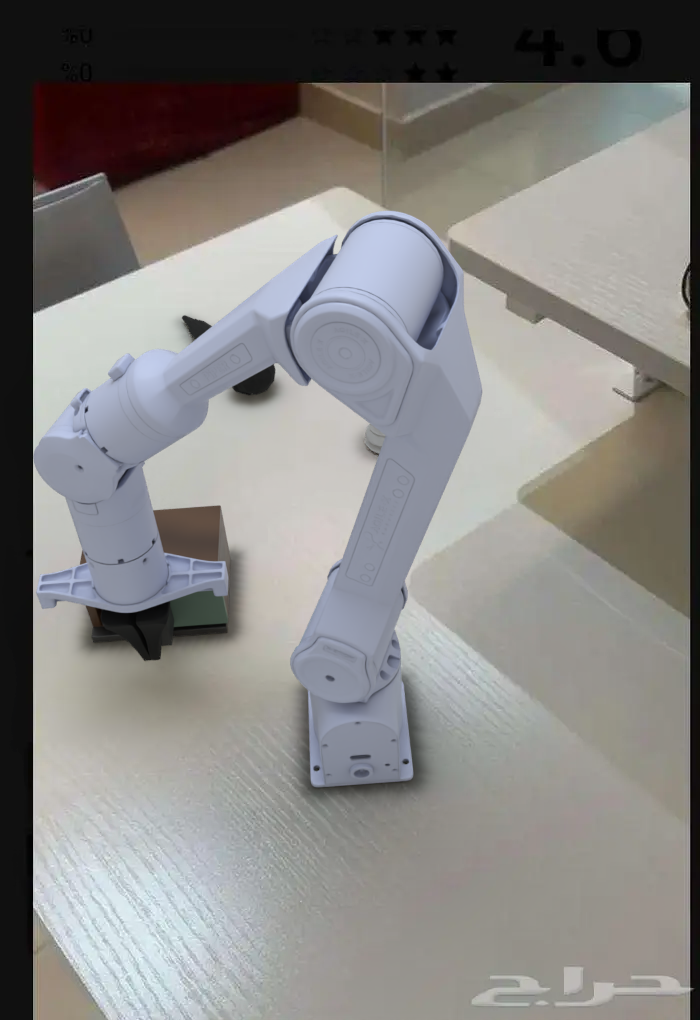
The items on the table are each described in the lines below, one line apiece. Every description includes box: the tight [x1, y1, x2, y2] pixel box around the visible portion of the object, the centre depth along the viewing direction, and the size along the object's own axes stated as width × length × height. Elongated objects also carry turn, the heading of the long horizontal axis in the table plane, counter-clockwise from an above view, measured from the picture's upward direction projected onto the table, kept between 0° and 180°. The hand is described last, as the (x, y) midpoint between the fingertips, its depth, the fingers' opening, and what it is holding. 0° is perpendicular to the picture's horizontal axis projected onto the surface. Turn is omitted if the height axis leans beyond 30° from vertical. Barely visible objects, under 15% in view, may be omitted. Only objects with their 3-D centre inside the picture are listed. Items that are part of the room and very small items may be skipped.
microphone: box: [181, 314, 276, 396], centre depth 122 cm, size 6×6×20 cm
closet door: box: [161, 591, 229, 647], centre depth 91 cm, size 3×6×5 cm, turn 93°
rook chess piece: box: [364, 423, 386, 455], centre depth 108 cm, size 4×4×8 cm
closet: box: [79, 504, 232, 643], centre depth 95 cm, size 9×12×7 cm
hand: (152, 650), depth 88 cm, fingers closed
